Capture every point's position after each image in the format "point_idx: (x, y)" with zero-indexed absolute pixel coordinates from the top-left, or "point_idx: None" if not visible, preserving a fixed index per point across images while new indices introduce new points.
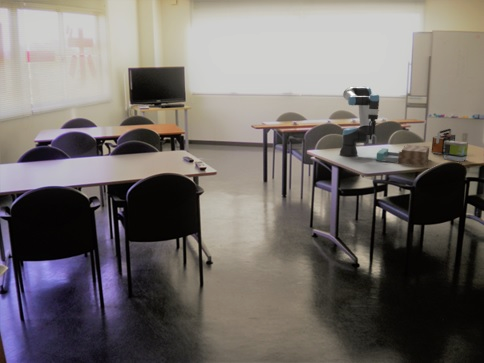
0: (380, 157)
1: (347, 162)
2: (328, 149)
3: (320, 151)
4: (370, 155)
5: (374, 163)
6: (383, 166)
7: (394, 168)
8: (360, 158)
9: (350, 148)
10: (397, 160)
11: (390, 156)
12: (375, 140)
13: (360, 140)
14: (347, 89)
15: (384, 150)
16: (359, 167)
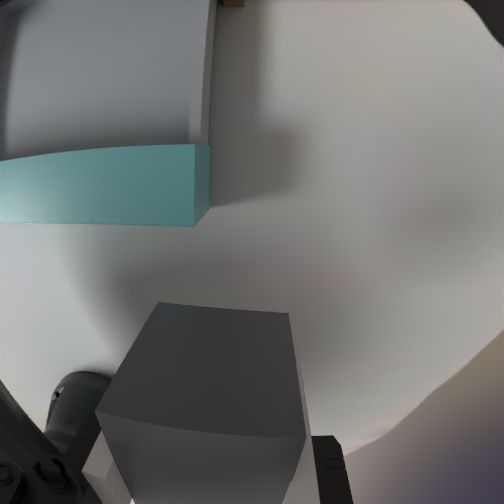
0: (203, 171)
1: (370, 392)
2: None
3: None
4: (31, 288)
5: (347, 205)
6: (436, 120)
7: (460, 42)
8: None
9: None
10: (212, 5)
11: (34, 121)
12: (238, 352)
13: (43, 446)
14: None
15: (13, 179)
16: (499, 289)
